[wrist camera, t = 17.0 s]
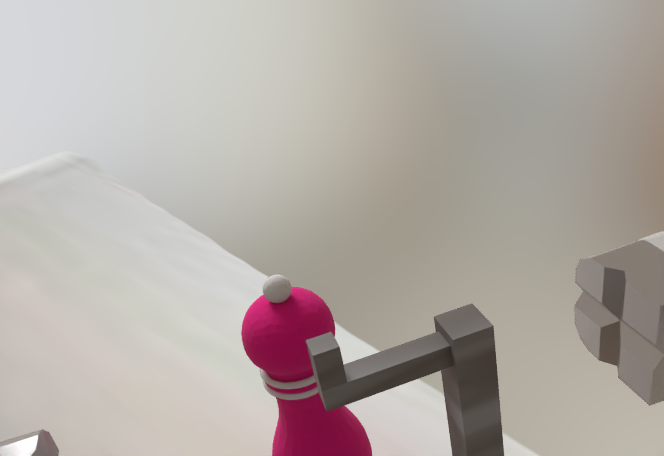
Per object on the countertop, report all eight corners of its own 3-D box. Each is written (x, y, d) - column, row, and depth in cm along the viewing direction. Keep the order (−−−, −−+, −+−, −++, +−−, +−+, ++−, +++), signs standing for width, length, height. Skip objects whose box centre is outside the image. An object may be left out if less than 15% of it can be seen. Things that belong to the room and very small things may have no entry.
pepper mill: (396, 513, 46) (349, 284, 37) (303, 556, 44) (229, 328, 35) (358, 446, 52) (310, 235, 43) (275, 481, 51) (207, 270, 41)
